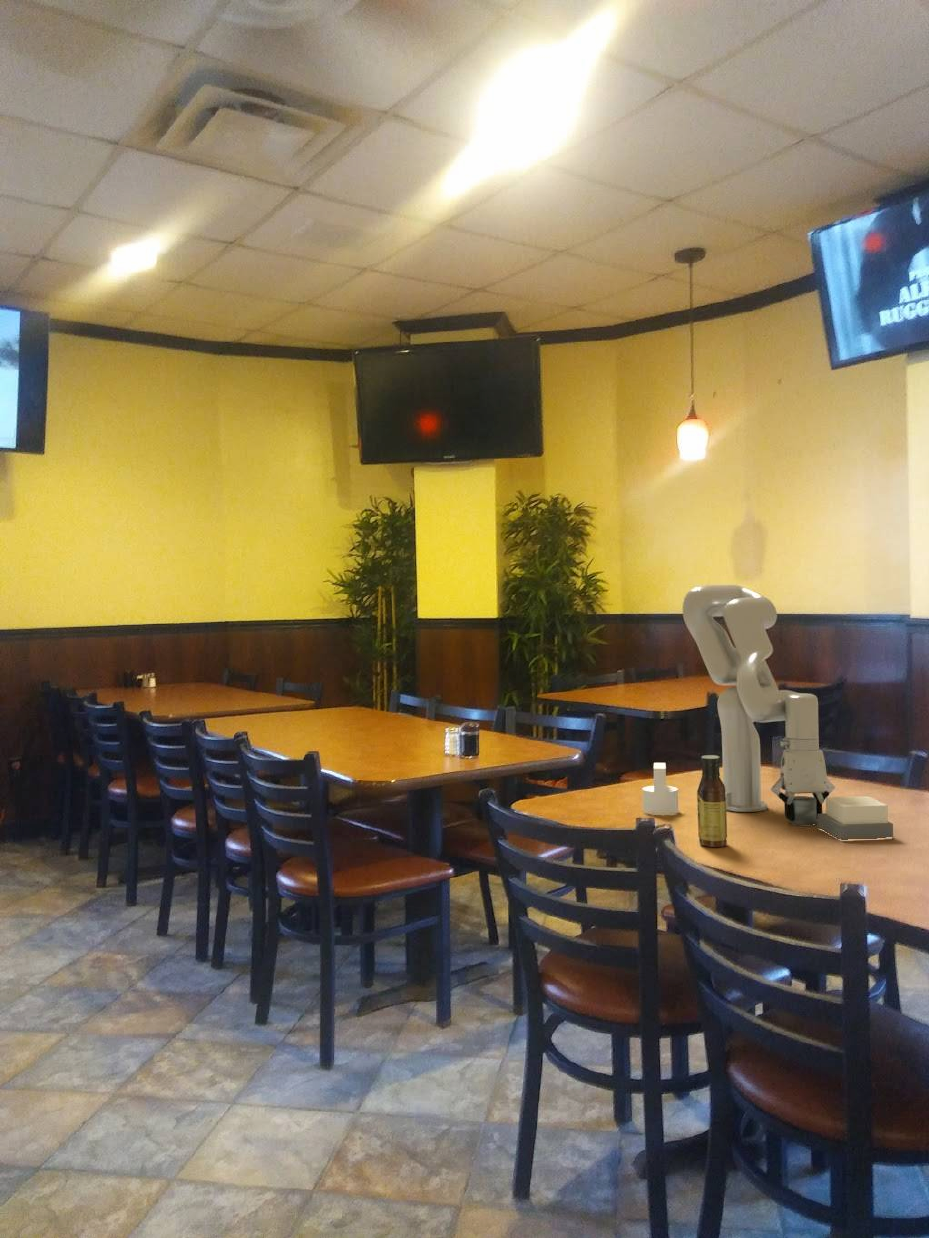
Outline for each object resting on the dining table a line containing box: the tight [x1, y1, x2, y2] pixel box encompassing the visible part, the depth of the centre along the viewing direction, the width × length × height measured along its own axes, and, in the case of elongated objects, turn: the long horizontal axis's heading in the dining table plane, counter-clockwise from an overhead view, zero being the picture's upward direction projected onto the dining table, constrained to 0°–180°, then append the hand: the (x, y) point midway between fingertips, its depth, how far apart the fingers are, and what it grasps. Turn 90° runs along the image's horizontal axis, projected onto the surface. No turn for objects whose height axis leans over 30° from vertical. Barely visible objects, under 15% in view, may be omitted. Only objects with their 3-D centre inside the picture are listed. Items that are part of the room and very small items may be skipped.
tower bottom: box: [817, 813, 894, 840], centre depth 220 cm, size 12×12×4 cm
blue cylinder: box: [789, 795, 818, 826], centre depth 232 cm, size 6×6×6 cm
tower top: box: [825, 795, 889, 824], centre depth 220 cm, size 10×10×4 cm
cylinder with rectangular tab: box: [641, 762, 679, 816], centre depth 247 cm, size 9×9×12 cm
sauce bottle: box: [696, 754, 728, 849], centre depth 213 cm, size 6×6×20 cm
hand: (803, 818), depth 232 cm, fingers closed on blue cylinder, 6 cm apart
